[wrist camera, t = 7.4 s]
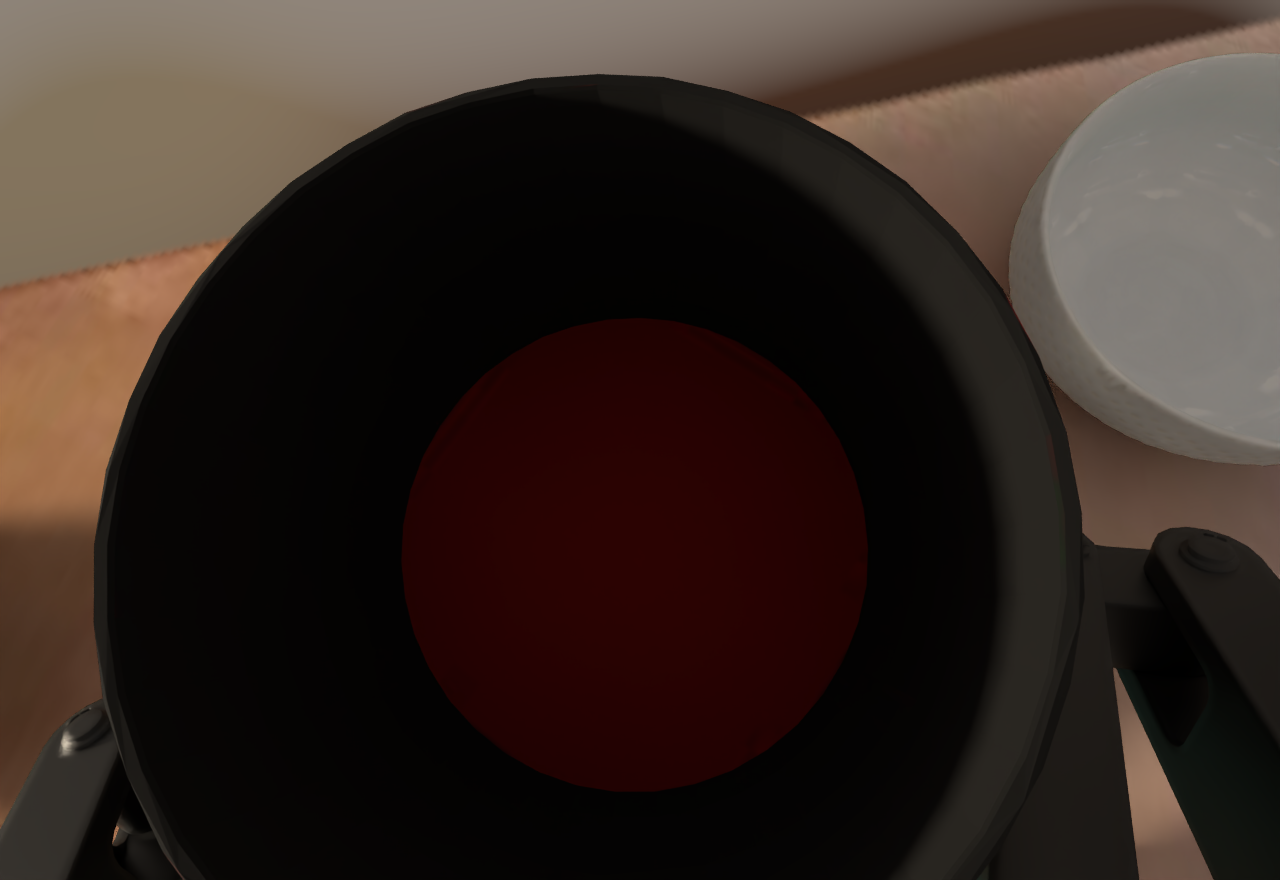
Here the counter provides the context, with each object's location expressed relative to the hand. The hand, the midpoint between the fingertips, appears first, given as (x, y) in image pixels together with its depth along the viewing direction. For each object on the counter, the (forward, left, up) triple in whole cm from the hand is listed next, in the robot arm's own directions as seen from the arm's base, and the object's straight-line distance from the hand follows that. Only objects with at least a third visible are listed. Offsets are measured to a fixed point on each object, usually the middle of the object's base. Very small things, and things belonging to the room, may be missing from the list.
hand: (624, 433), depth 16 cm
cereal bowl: (+6, +25, -13) cm, 29 cm away
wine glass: (+3, -1, -10) cm, 10 cm away
